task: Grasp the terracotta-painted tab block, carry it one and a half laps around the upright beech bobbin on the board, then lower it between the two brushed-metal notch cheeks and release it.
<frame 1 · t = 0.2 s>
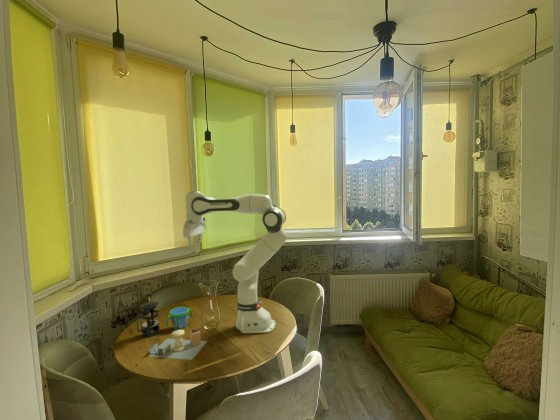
hand: (195, 243, 164), 47 cm above the table, fingers open, 8 cm apart
bobbin board: (178, 350, 137), on the table
french press: (150, 335, 153), on the table
snack cup: (180, 328, 161), on the table
notch block: (160, 352, 134), resting on bobbin board
tab block: (195, 343, 142), point 1 cm above the table, touching bobbin board
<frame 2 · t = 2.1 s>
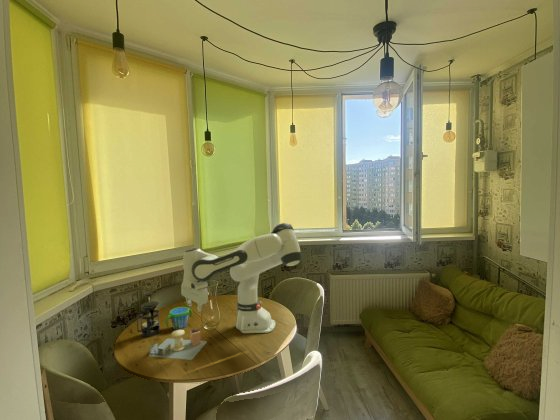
hand: (194, 308, 140), 19 cm above the table, fingers open, 8 cm apart
nothing on the table moved.
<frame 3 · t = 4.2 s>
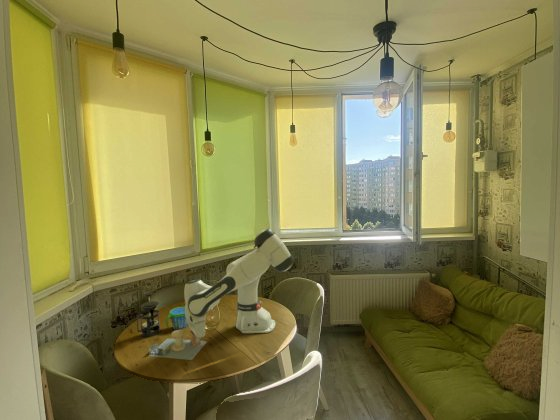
hand: (195, 339, 141), 3 cm above the table, fingers closed on tab block, 4 cm apart
tab block: (195, 343, 141), point 1 cm above the table, touching bobbin board, gripper
everything else where it was.
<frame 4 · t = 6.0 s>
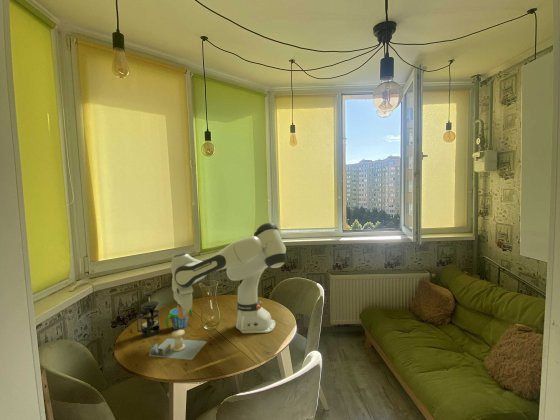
hand: (182, 312, 143), 16 cm above the table, fingers closed on tab block, 4 cm apart
tab block: (182, 316, 143), point 14 cm above the table, touching gripper
everything else where it was.
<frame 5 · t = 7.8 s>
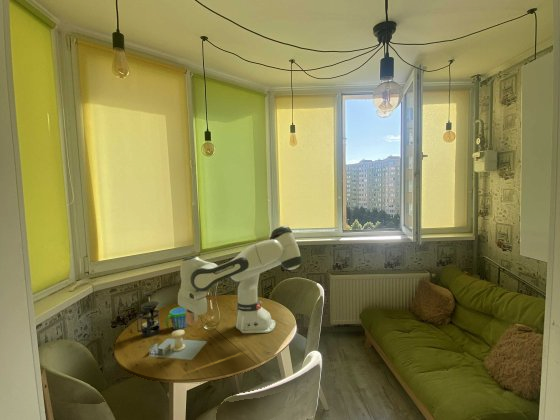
hand: (192, 318, 136), 16 cm above the table, fingers closed on tab block, 4 cm apart
tab block: (192, 323, 136), point 14 cm above the table, touching gripper
everything else where it was.
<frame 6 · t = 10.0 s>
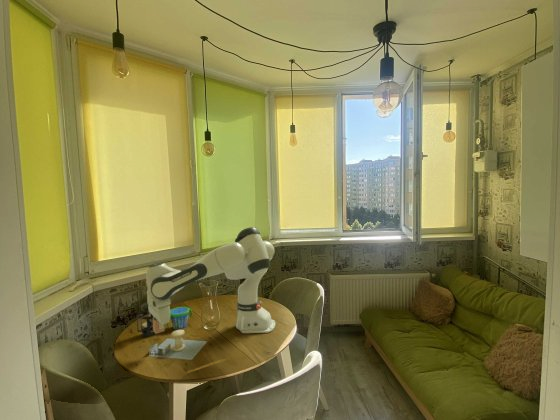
hand: (159, 326, 133), 14 cm above the table, fingers closed on tab block, 4 cm apart
tab block: (158, 330, 133), point 12 cm above the table, touching gripper
everything else where it was.
when the fingers open (5 cm above the table, at t = 11.7 s): tab block drops 2 cm, resting on notch block.
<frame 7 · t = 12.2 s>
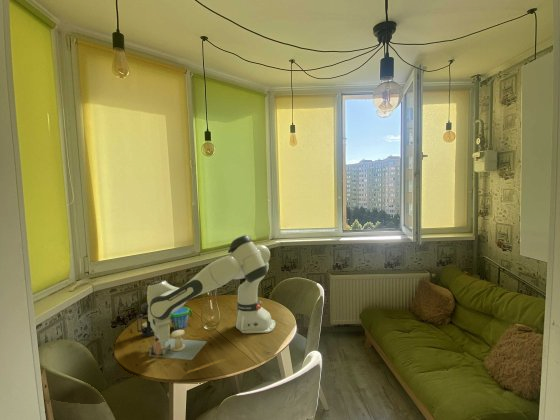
hand: (159, 343, 134), 5 cm above the table, fingers open, 8 cm apart
tab block: (160, 352, 134), point 1 cm above the table, touching notch block
everything else where it was.
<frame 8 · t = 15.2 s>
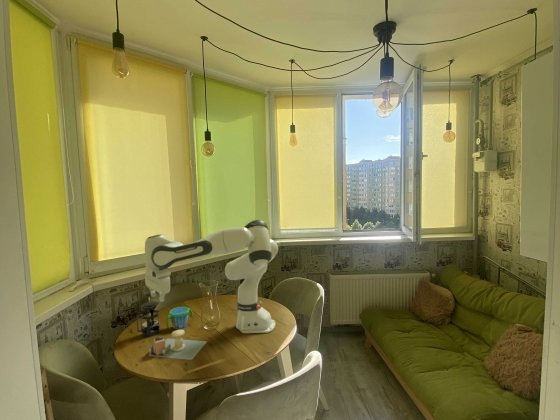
hand: (157, 298, 133), 27 cm above the table, fingers open, 8 cm apart
nothing on the table moved.
at the end: tab block 0.1 cm from the target spot, point 1.4 cm above the table; tab block tilted 0°; the gripper is holding nothing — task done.
